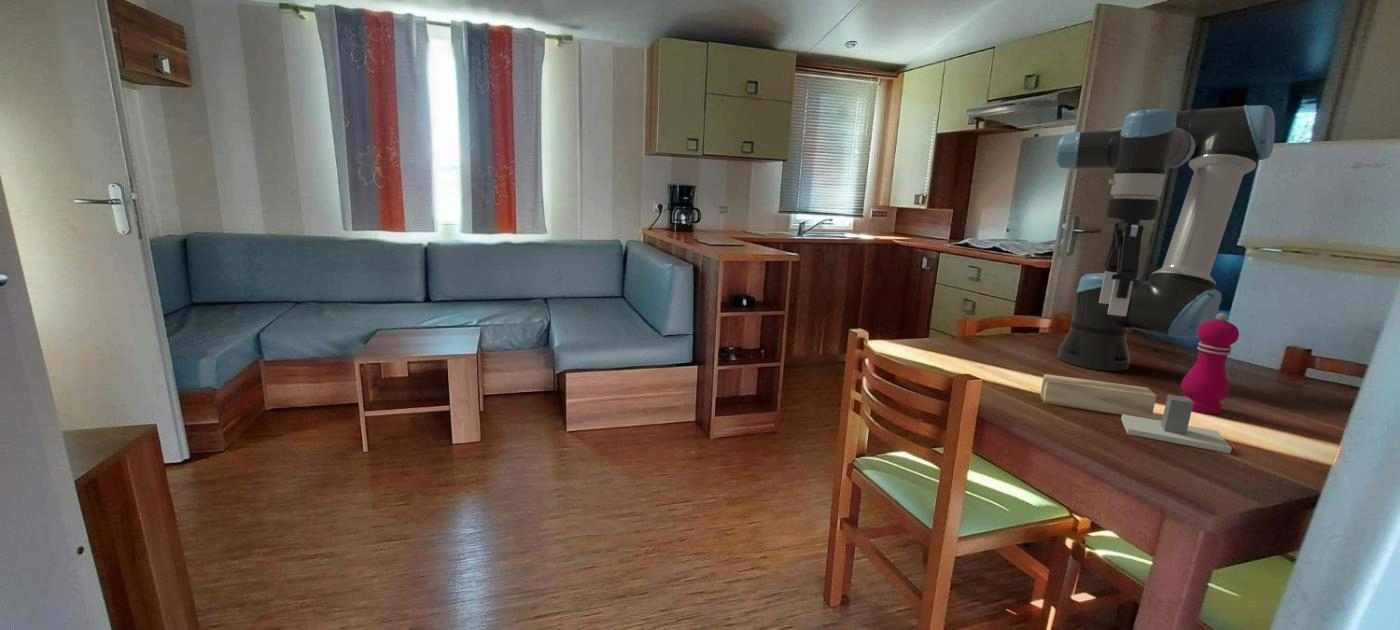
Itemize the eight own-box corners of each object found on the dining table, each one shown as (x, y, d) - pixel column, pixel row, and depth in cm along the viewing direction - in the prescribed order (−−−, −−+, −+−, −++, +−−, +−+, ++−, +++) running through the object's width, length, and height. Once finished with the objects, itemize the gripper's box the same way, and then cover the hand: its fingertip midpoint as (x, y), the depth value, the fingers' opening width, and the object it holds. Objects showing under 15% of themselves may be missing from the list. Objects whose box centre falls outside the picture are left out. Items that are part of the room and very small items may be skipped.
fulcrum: (1120, 418, 107) (1128, 384, 106) (1216, 436, 100) (1225, 399, 99) (1127, 434, 100) (1135, 397, 99) (1230, 453, 94) (1240, 414, 92)
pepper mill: (1232, 417, 109) (1258, 318, 105) (1190, 413, 111) (1214, 315, 106) (1208, 403, 116) (1231, 310, 112) (1168, 400, 118) (1189, 307, 113)
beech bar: (1040, 396, 119) (1044, 373, 118) (1142, 411, 112) (1148, 387, 111) (1043, 404, 115) (1047, 381, 113) (1151, 420, 108) (1156, 395, 107)
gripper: (1101, 197, 116) (1082, 297, 121) (1119, 196, 95) (1095, 317, 100) (1146, 198, 113) (1125, 301, 117) (1175, 198, 91) (1148, 323, 96)
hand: (1111, 309), depth 109 cm, fingers open, 13 cm apart
